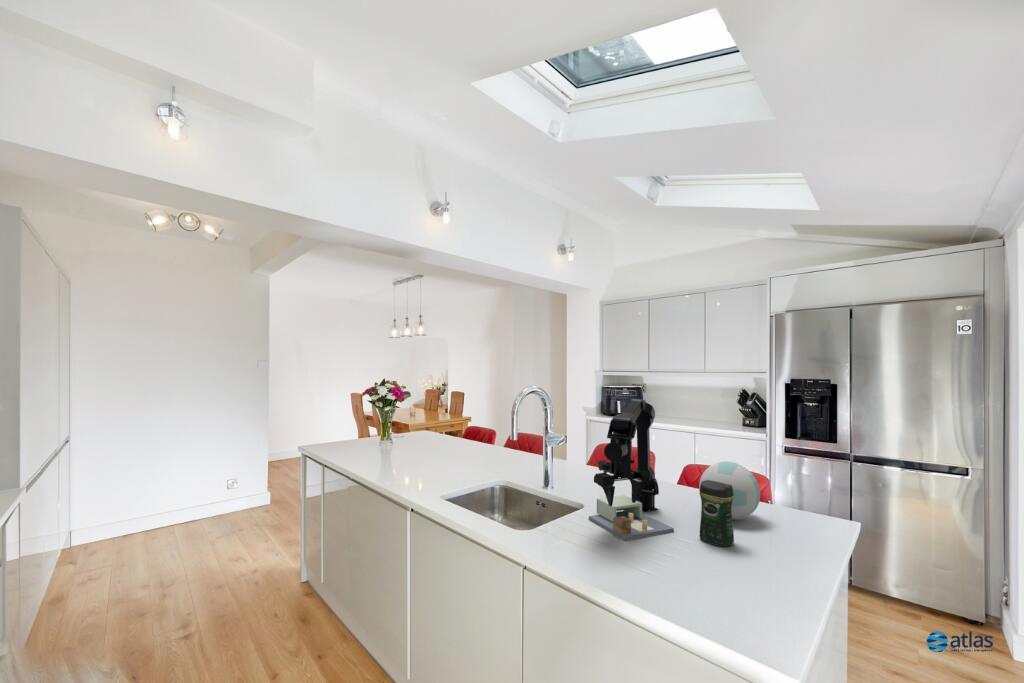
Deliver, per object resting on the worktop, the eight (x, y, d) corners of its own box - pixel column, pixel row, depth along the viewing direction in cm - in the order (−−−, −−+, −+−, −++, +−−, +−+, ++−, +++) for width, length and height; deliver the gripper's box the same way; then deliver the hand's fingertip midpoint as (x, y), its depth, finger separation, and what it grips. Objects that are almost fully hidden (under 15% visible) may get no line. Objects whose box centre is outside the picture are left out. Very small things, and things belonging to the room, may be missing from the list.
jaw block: (623, 528, 149) (623, 516, 149) (630, 532, 146) (631, 520, 146) (613, 530, 148) (613, 517, 148) (620, 534, 144) (620, 521, 144)
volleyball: (754, 532, 151) (754, 472, 152) (692, 519, 163) (692, 462, 164) (764, 516, 167) (764, 461, 167) (707, 505, 179) (707, 454, 180)
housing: (617, 505, 172) (617, 491, 172) (641, 517, 159) (642, 503, 159) (590, 509, 167) (590, 495, 167) (613, 522, 154) (613, 507, 154)
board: (634, 512, 169) (634, 501, 169) (673, 531, 150) (673, 519, 150) (588, 519, 160) (588, 507, 160) (624, 540, 142) (624, 527, 142)
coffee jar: (737, 543, 142) (737, 483, 143) (725, 549, 137) (726, 487, 137) (707, 533, 149) (708, 476, 150) (695, 539, 144) (695, 480, 145)
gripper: (629, 449, 159) (629, 494, 158) (584, 452, 151) (583, 500, 151) (651, 455, 149) (651, 503, 148) (604, 459, 141) (603, 510, 140)
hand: (622, 504), depth 147 cm, fingers open, 9 cm apart
